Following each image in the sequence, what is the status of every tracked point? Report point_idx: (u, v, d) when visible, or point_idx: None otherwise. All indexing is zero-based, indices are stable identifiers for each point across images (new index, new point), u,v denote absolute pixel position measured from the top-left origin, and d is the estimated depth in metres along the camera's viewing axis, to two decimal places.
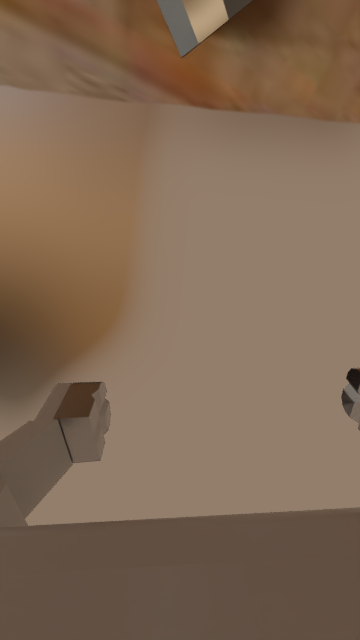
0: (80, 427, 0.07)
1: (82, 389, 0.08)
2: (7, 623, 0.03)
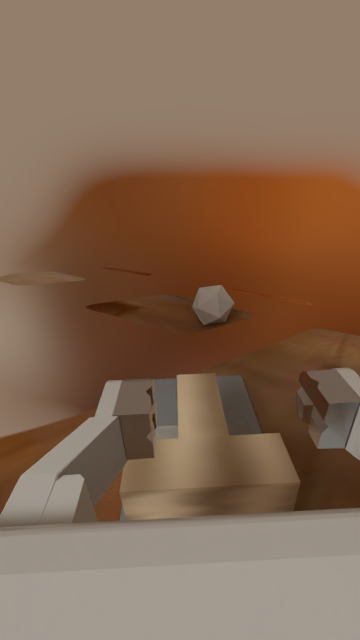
0: (139, 424, 0.07)
1: (135, 386, 0.08)
2: (7, 623, 0.03)
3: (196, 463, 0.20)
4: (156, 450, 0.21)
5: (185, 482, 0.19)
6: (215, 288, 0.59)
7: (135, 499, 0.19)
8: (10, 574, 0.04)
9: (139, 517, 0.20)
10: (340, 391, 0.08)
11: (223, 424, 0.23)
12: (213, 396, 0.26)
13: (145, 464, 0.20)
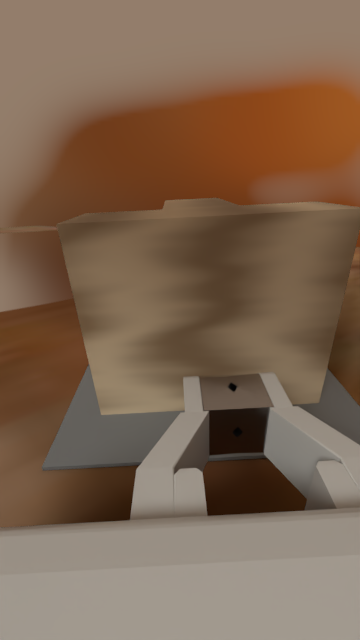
0: (227, 419, 0.08)
1: (214, 382, 0.08)
2: (7, 623, 0.03)
3: (188, 212, 0.12)
4: (126, 213, 0.13)
5: (170, 217, 0.11)
6: None
7: (86, 247, 0.11)
8: (10, 574, 0.04)
9: (95, 295, 0.12)
10: (254, 396, 0.08)
11: (230, 204, 0.15)
12: (215, 201, 0.18)
13: (106, 216, 0.12)
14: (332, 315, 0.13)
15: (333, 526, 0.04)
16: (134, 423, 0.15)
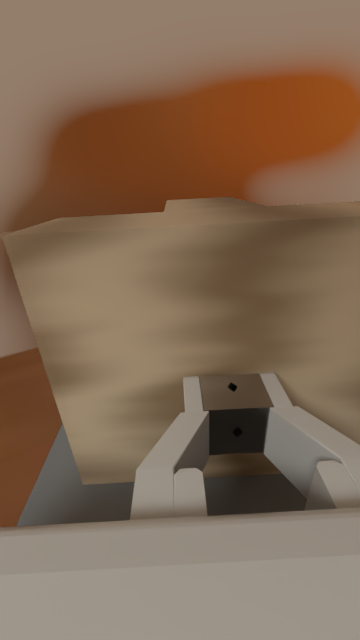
0: (227, 419, 0.08)
1: (214, 382, 0.08)
2: (7, 623, 0.03)
3: (201, 216, 0.09)
4: (114, 218, 0.10)
5: (175, 224, 0.07)
6: None
7: (49, 269, 0.07)
8: (10, 574, 0.04)
9: (67, 336, 0.08)
10: (254, 395, 0.08)
11: (254, 204, 0.12)
12: (230, 200, 0.15)
13: (84, 223, 0.09)
14: None
15: (333, 526, 0.04)
16: None
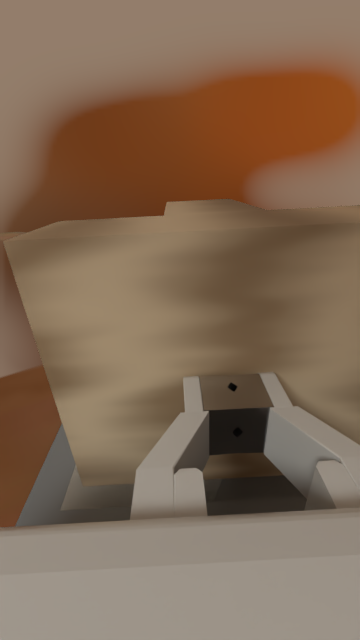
0: (227, 419, 0.08)
1: (214, 382, 0.08)
2: (7, 623, 0.03)
3: (201, 221, 0.09)
4: (114, 221, 0.10)
5: (175, 229, 0.07)
6: None
7: (50, 274, 0.07)
8: (10, 574, 0.04)
9: (67, 340, 0.08)
10: (254, 396, 0.08)
11: (253, 208, 0.12)
12: (229, 203, 0.15)
13: (84, 227, 0.09)
14: None
15: (333, 526, 0.04)
16: None
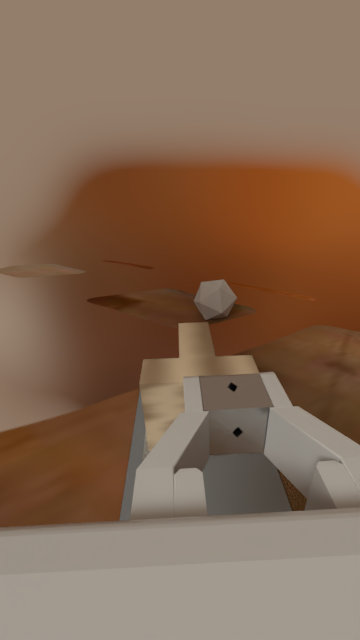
0: (227, 419, 0.08)
1: (214, 382, 0.08)
2: (7, 623, 0.03)
3: (191, 370, 0.29)
4: (163, 364, 0.30)
5: None
6: (218, 282, 0.58)
7: (150, 390, 0.28)
8: (10, 574, 0.04)
9: (151, 406, 0.28)
10: (254, 395, 0.08)
11: (212, 350, 0.32)
12: (206, 335, 0.35)
13: (156, 371, 0.29)
14: None
15: (333, 526, 0.04)
16: None
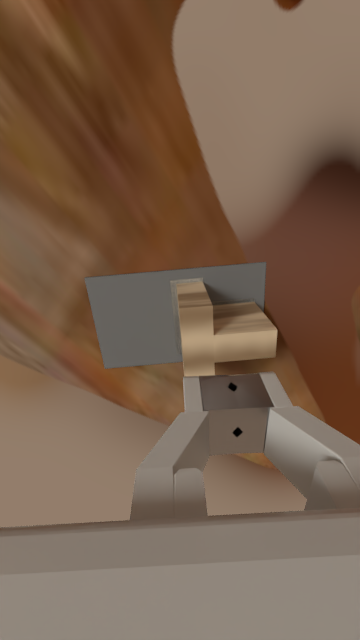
0: (227, 419, 0.08)
1: (214, 382, 0.08)
2: (7, 623, 0.03)
3: (195, 345, 0.35)
4: (205, 323, 0.34)
5: (184, 340, 0.35)
6: None
7: None
8: (10, 574, 0.04)
9: (178, 306, 0.36)
10: (254, 396, 0.08)
11: (223, 360, 0.36)
12: (248, 355, 0.36)
13: (195, 319, 0.33)
14: None
15: (333, 526, 0.04)
16: (105, 301, 0.42)
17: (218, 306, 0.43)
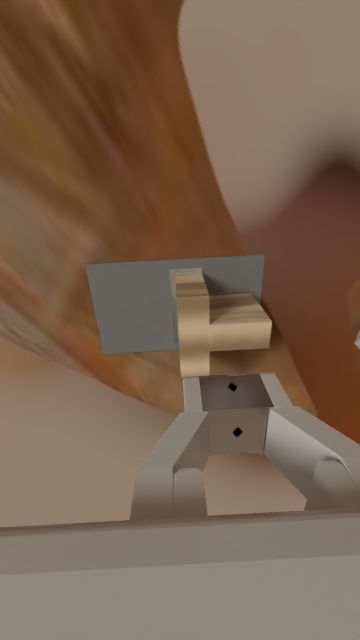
0: (227, 419, 0.08)
1: (214, 382, 0.08)
2: (7, 623, 0.03)
3: (191, 334, 0.36)
4: (201, 313, 0.35)
5: (181, 329, 0.35)
6: None
7: None
8: (10, 574, 0.04)
9: None
10: (254, 396, 0.08)
11: (218, 349, 0.37)
12: (242, 345, 0.37)
13: (192, 308, 0.34)
14: None
15: (333, 526, 0.04)
16: (104, 288, 0.43)
17: (216, 296, 0.44)
